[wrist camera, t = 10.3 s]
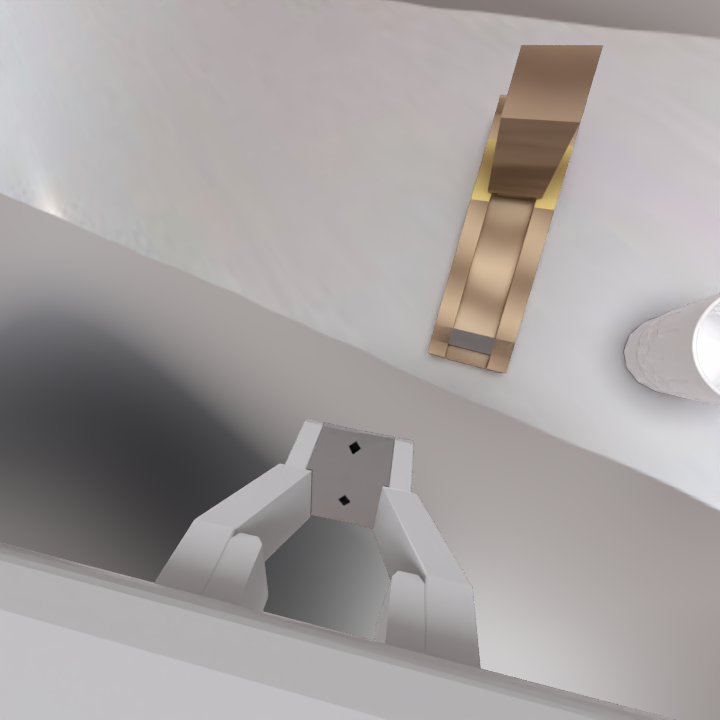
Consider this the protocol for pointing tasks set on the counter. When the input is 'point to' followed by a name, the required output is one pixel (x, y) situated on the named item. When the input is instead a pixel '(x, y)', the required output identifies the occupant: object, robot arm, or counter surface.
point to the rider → (540, 116)
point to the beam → (493, 268)
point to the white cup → (679, 352)
